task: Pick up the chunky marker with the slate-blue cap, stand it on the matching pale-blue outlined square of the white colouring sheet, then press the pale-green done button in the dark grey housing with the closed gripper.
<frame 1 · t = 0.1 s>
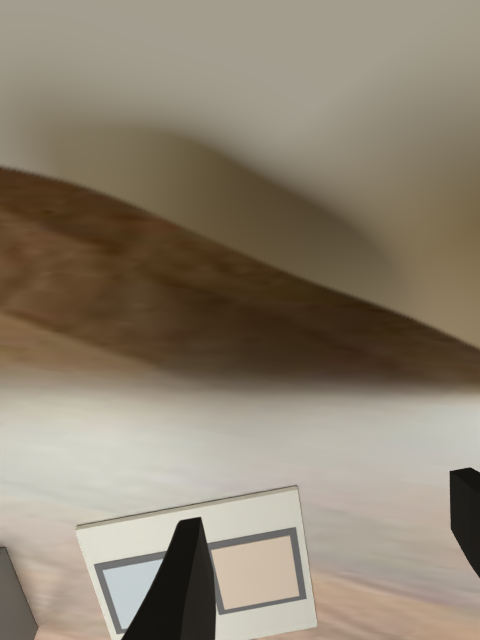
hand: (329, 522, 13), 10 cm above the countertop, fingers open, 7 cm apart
sheet: (204, 577, 26), on the countertop
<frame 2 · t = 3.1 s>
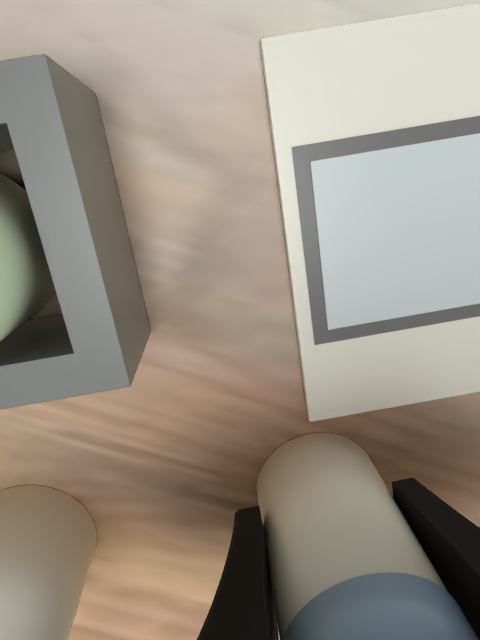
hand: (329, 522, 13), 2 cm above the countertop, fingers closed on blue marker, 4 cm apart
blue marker: (316, 485, 14), on the countertop, touching gripper
button housing: (8, 241, 11), on the countertop
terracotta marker: (34, 536, 14), on the countertop
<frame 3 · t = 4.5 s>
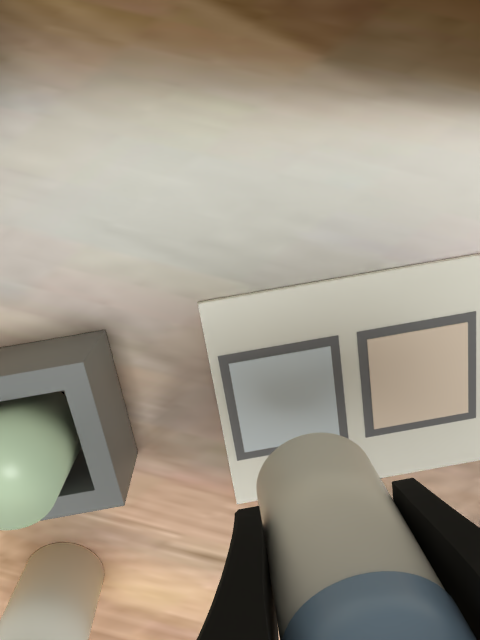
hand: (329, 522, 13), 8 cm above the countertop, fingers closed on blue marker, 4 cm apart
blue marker: (315, 484, 14), point 6 cm above the countertop, touching gripper
button housing: (53, 406, 20), on the countertop
done button: (21, 453, 16), point 4 cm above the countertop, slide at 0.0 cm
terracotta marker: (65, 573, 22), on the countertop
sheet: (350, 385, 20), on the countertop
when the fingers open (3 cm above the countertop, at t = 6.1 s): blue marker stays where it is, resting on sheet.
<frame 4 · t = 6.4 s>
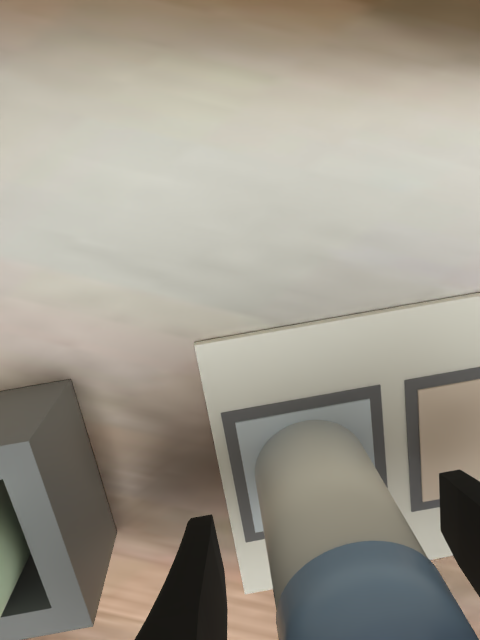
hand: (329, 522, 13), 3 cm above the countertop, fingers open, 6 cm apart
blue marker: (310, 470, 15), resting on sheet
button housing: (5, 476, 15), on the countertop
sheet: (392, 446, 16), on the countertop
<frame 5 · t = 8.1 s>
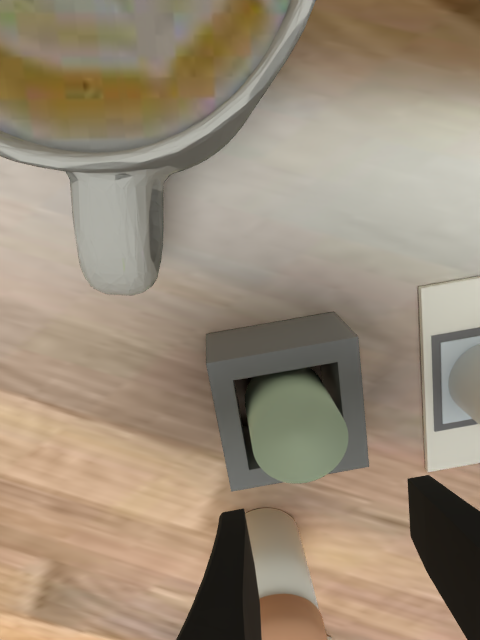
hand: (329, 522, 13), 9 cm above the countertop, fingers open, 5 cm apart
coffee mug: (133, 88, 18), on the countertop
button housing: (278, 381, 22), on the countertop
done button: (292, 418, 18), point 4 cm above the countertop, slide at 0.0 cm
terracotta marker: (264, 536, 24), on the countertop
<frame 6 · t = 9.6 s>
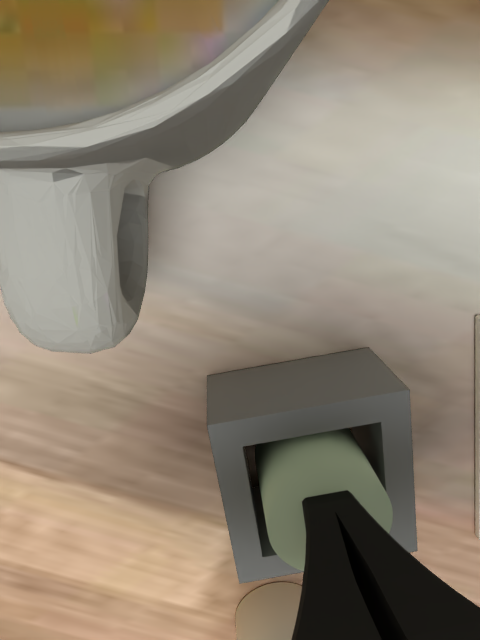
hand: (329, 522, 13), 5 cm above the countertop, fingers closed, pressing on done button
coffee mug: (110, 60, 13), on the countertop
button housing: (297, 432, 17), on the countertop
done button: (316, 483, 14), point 3 cm above the countertop, slide at -0.5 cm, touching gripper
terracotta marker: (277, 615, 20), on the countertop
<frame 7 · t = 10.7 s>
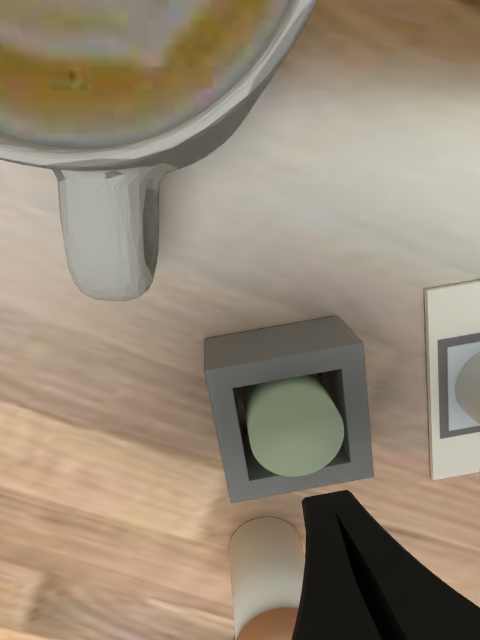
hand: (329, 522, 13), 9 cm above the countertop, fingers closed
coffee mug: (127, 82, 17), on the countertop
button housing: (279, 387, 21), on the countertop
done button: (288, 413, 19), point 2 cm above the countertop, slide at -1.1 cm
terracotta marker: (264, 547, 24), on the countertop
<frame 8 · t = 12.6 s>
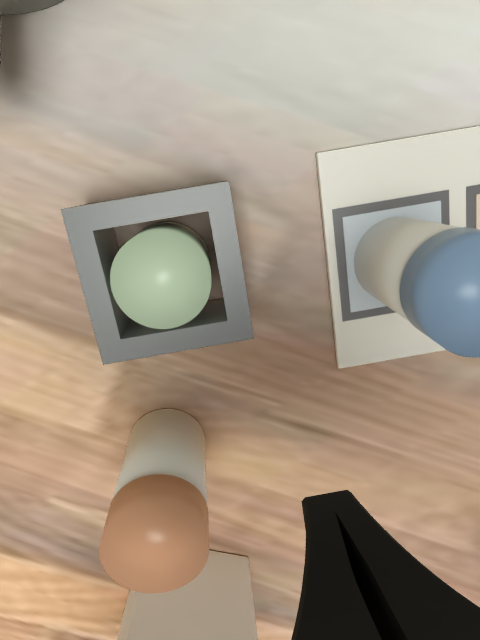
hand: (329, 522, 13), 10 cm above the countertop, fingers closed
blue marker: (395, 259, 20), resting on sheet
button housing: (170, 261, 20), on the countertop
milk: (184, 584, 26), on the countertop
done button: (165, 272, 18), point 2 cm above the countertop, slide at -1.1 cm
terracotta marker: (167, 442, 23), on the countertop
sheet: (454, 245, 21), on the countertop
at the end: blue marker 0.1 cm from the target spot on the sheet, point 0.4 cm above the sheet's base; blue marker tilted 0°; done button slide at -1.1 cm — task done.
